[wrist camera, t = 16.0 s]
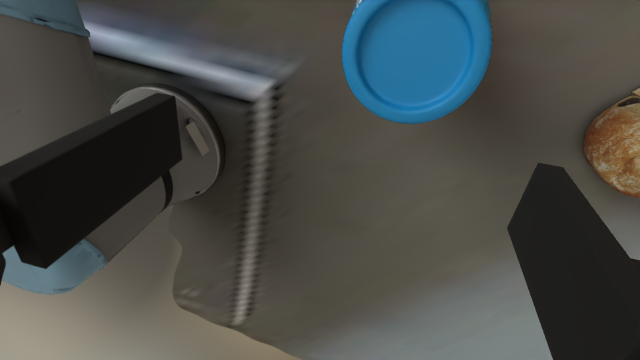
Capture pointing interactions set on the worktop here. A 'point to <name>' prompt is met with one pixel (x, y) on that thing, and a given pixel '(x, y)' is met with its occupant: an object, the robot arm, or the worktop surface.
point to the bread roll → (617, 145)
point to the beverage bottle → (416, 56)
